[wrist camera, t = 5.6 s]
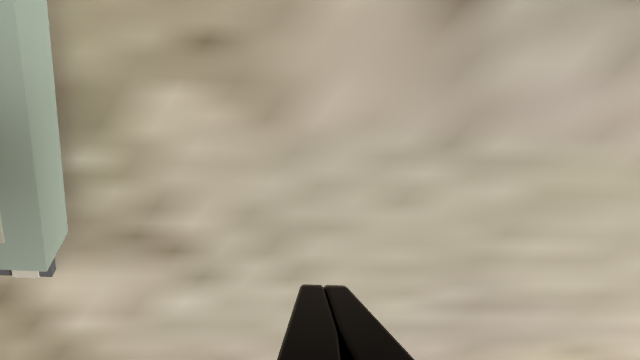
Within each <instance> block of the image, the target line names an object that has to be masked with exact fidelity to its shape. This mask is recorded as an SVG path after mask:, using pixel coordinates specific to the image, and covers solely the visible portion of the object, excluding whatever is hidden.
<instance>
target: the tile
mask: <svg viewBox="0 0 640 360" xmlns="http://www.w3.org/2000/svg"><path fill="white" fill-rule="evenodd" d="M67 233H68V226H67V215H66V204H65V193H64V182H63V171H62V161H61V150H60V139H59V128H58V117H57V106H56V96H55V85H54V74H53V63H52V52H51V41H50V30H49V20H48V9H47V0H0V270H18V271H42V272H47V271H48V269H49V267H50V265H51V263H52V261H53V259H54V258H55V256H56V254H57V252H58V250H59V248H60V246H61V244H62V243H63V241H64V239H65V237H66V235H67Z"/></svg>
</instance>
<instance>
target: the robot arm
mask: <svg viewBox="0 0 640 360" xmlns="http://www.w3.org/2000/svg"><path fill="white" fill-rule="evenodd" d="M277 360H414V359H413V358H412V357H411V356H410V355H409V354H408V352H407V351H406V350H405V349H404V348H403V347H402V346H401V345H400V344H399V343H398V342H397V341H396V340H395V338H394V337H393V336H392V335H391V334H390V333H389V332H388V331H387V330H386V329H385V328H384V327H383V326H382V324H381V323H380V322H379V321H378V320H377V319H376V318H375V317H374V316H373V315H372V314H371V313H370V312H369V311H368V309H367V308H366V307H365V306H364V305H363V304H362V303H361V302H360V301H359V300H358V299H357V298H356V297H355V295H354V294H353V293H352V292H351V291H350V290H349V289H348V288H347V287H345V286H338V285H326V286H325V287H324V288H323V287H322V286H321V285H302V286H301V287H300V290H299V293H298V296H297V299H296V302H295V305H294V308H293V312H292V315H291V318H290V321H289V324H288V327H287V330H286V333H285V336H284V340H283V343H282V346H281V349H280V352H279V355H278V358H277Z"/></svg>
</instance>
